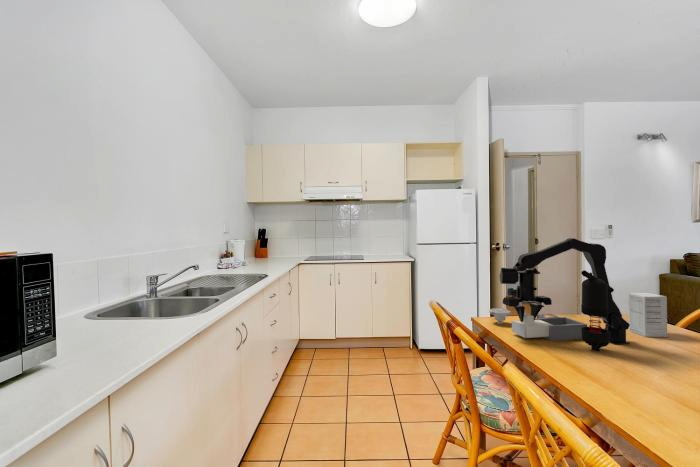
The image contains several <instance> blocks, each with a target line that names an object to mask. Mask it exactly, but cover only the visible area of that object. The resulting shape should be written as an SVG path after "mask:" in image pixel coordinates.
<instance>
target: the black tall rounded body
mask: <svg viewBox="0 0 700 467" xmlns="http://www.w3.org/2000/svg"><path fill="white" fill-rule="evenodd" d="M580 274H581V275H582V276H583V277H584V278H586V279H584V280H583V281H582V282H581V304H580V306H581V307H580V310H581V311H580V312H581V313H582V314H583V315H585V316H588V317H590V319H589V320H588V321H589V324H590V325H589V326H587V327H582V328H581V330H582V339H581V340H582V341H583V342H584V343H585V344H586V345H588V346H589V347H591V350H592V351H593V352H594V351H595V352H600V351H601V348H604V347H607V346H608V345H609V344H611V343H610V334H611V332H610V331H609V330H606V329H605V328H602V326H601V323H602V321H601V320H600V319H601V317H606V316H608V292H611V293H614V291H615V289H614V288H613V287H612V286H611V285H610V284H609V285H610V286H609V285H607V284H608V283H607V282H605V281H603V280H601V279H598V278H596V277H595V276H593V273H592V272H589V271H587V270H585V269H583V270H581V272H580ZM592 318H595V319H592ZM596 318H597V319H596ZM595 324H598V325H595Z"/></svg>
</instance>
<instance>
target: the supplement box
mask: <svg viewBox="0 0 700 467" xmlns="http://www.w3.org/2000/svg"><path fill="white" fill-rule="evenodd" d="M627 301H628V302H627V308H628V309H627V310H628V313H627V314H628V316H627V317H628V318H627V319H628V321H627V322H628V323H629V324H630V326H629V328H628V329H627V331H628V332H631V333H634V334H636V335H639V336H642V337H645V338H657V337H658V338H664V337H665V338H666V337H668V306H667V305H668V302H667V301H668V300H667V296H666V295H661V294H655V293H650V292H627Z"/></svg>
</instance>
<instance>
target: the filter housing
mask: <svg viewBox="0 0 700 467" xmlns="http://www.w3.org/2000/svg"><path fill="white" fill-rule="evenodd" d="M544 315H551V316H554V318H547V317H544ZM535 320H542V321H544V322H547V323H549V324H552V325H549V337H543V338H544V339H547V340H549V341H551V342H557V341H559V340H560V341H571V340H572V341H574V340H573V339H577V340H583V339H582V330H581V328H582V327H588V324H587V323H584V322H581V321H578V320H576V319H573V318H570V317H567V316H558V315H555V314H552V313H543V314H542V313H541V314H539V313H538V315H537V316H536V318H535Z"/></svg>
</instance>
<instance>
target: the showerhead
mask: <svg viewBox="0 0 700 467" xmlns="http://www.w3.org/2000/svg"><path fill="white" fill-rule="evenodd" d="M488 312H489V314H491V315H493V316H494V317H493V318H494V320H495V321H497V322H496V323H497V324H498V325H503V322H504V321H506V317H508V316H511V312H512V311H511V310H509V308H508V307H506V308H501V307H496V308H494V307H493V308H490V309H489V310H488Z"/></svg>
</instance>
